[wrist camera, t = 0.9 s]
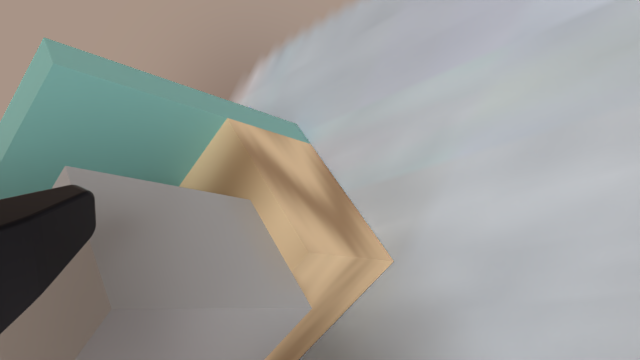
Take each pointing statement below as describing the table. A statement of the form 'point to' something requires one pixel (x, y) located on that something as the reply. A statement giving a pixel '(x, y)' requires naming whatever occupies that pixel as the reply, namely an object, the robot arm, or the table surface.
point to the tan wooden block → (296, 221)
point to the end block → (109, 122)
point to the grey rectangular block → (162, 281)
